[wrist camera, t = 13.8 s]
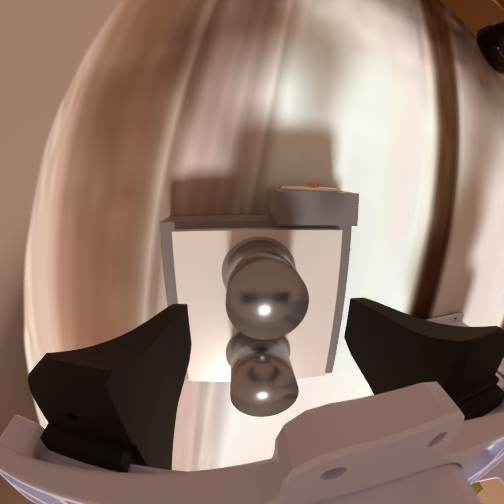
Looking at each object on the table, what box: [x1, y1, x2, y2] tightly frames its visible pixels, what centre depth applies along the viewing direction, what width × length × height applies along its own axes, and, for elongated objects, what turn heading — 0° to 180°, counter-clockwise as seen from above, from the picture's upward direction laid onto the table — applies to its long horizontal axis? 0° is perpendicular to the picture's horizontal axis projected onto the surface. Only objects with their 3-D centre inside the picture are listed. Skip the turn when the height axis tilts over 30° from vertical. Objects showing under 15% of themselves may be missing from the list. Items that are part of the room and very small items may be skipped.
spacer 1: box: [226, 240, 309, 340], centre depth 15 cm, size 4×4×5 cm
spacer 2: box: [230, 332, 299, 417], centre depth 17 cm, size 4×4×5 cm
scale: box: [160, 184, 359, 382], centre depth 20 cm, size 13×15×5 cm
